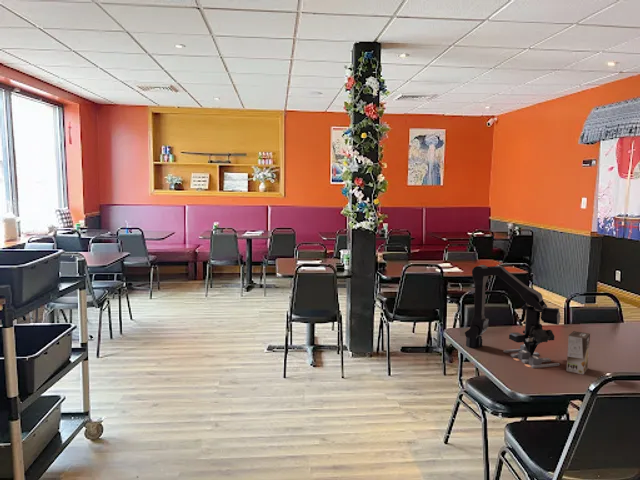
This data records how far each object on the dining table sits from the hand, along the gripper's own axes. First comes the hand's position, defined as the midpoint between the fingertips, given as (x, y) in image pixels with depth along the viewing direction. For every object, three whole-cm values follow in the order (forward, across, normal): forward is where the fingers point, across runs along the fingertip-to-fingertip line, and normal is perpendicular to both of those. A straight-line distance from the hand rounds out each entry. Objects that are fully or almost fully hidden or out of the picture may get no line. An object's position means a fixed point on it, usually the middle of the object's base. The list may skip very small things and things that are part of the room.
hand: (530, 355), depth 202 cm
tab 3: (+1, -4, -8) cm, 8 cm away
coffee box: (+3, +10, -15) cm, 18 cm away
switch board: (+3, 0, 0) cm, 3 cm away
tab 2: (+1, -3, 0) cm, 4 cm away
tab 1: (+1, +3, +8) cm, 8 cm away
